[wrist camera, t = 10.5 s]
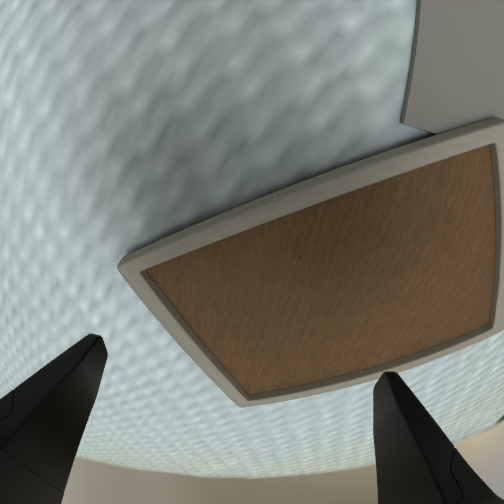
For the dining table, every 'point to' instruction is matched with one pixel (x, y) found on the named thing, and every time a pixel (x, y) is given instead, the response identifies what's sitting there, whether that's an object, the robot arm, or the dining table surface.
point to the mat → (455, 65)
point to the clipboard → (339, 271)
